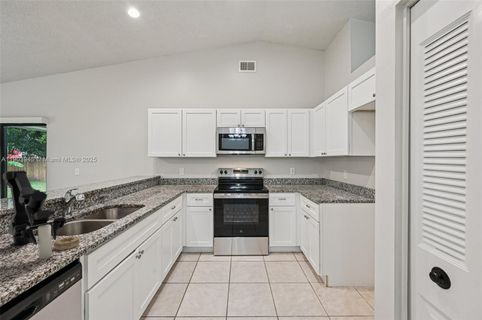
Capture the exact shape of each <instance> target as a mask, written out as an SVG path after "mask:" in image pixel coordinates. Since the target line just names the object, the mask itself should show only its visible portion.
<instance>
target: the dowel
mask: <svg viewBox="0 0 482 320" xmlns="http://www.w3.org/2000/svg"><path fill="white" fill-rule="evenodd" d="M37 240H38V241H37V246H38V259H39V260H45V259H46V260H47V259H49V258H51V257H52V254H53V253H52V234H51V225H42V226H39V227H38V229H37Z"/></svg>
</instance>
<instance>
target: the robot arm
mask: <svg viewBox="0 0 482 320" xmlns="http://www.w3.org/2000/svg"><path fill="white" fill-rule="evenodd" d="M2 179H3V181H4V182H5V185H6V186H7V187H8V188H9V189H10V194H11V201H12V206H13V213H14V215H13V217H12V218H11V221H10V224H9V227H8V234H10V235H11V236H12V238H13V242H12V243H10V246H14V247H15V246H18V247H21V246H24V245H26V244H29V243H32V244H33V245H35V246H38V241H37V238H36V237H35V234H34V231H35V230H38V227H39V226H42V225H51V238H52V239H53V240H54V241H55V240H57V231H58V230H59V229H60V228H63V227H64V226H65V224H66V222H67V220H66V218H65V216H59V217H55V218H54V219H53V221H50V222H49V220H50V217H53V216H54V215H55V209H54V208H53V207H50V208H47V209H45V210H43V208H42V207H44V205H45V202H46V200H47V198H48V195H47V193H46V192H43V191H41V190H40V189H36V188H33V186H32V185H31V182H30V180H29V177H28V175H27V171H26V170H24V169H23V170H6V171H5V172H4V173H3V174H2Z"/></svg>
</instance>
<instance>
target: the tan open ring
mask: <svg viewBox="0 0 482 320" xmlns="http://www.w3.org/2000/svg"><path fill="white" fill-rule="evenodd" d="M53 243H54V244H53V248H54V249H53V250H59V251H60V250H61V251H62V250H67V249H72V248H76V247H78V246H79V245H80V236H66V237H61V238H59V239H56V240H54V242H53Z"/></svg>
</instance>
